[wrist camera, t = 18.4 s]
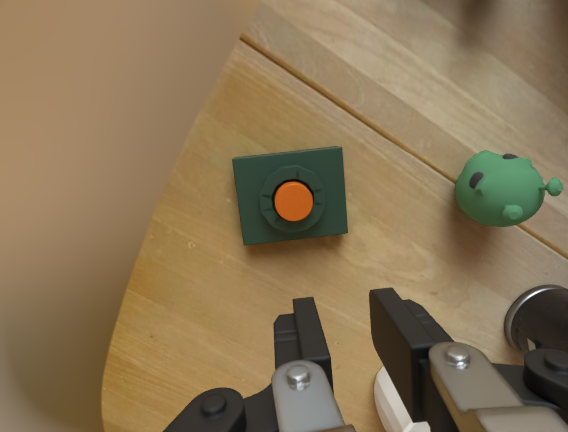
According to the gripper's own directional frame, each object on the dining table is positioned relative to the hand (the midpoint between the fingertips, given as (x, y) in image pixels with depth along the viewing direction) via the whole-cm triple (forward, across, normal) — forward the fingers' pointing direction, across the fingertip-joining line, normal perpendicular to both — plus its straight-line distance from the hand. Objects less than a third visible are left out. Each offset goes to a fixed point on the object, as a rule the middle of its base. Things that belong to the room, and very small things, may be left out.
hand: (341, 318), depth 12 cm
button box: (+27, 0, 0) cm, 27 cm away
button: (+23, 0, 0) cm, 23 cm away
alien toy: (+27, -20, +1) cm, 34 cm away
